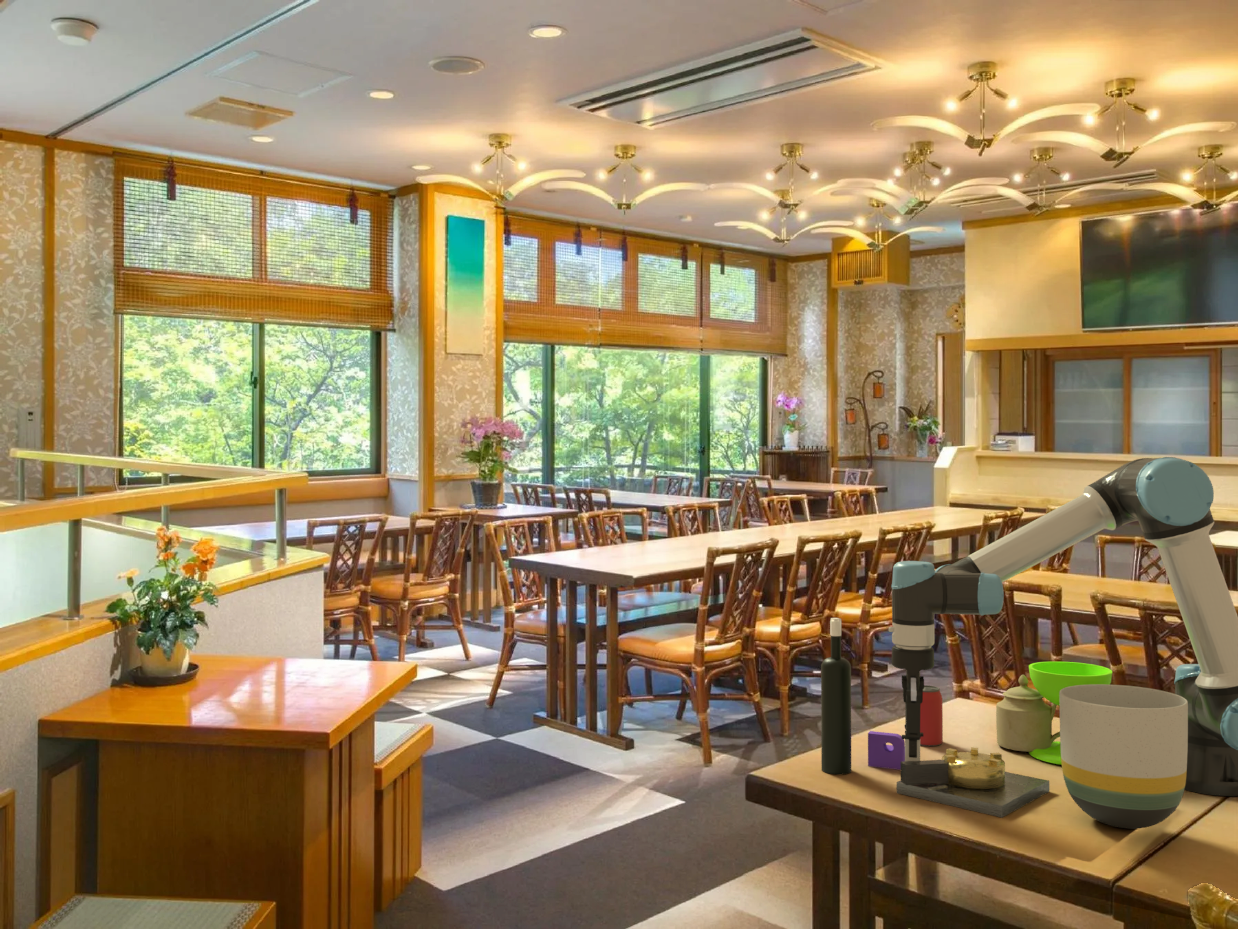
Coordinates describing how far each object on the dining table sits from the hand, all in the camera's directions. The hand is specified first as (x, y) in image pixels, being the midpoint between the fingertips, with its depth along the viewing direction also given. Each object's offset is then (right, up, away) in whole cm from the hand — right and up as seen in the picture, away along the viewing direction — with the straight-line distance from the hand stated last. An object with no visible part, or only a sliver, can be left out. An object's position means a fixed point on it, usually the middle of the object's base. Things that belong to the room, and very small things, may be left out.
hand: (912, 773), depth 199 cm
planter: (+30, -4, -18) cm, 35 cm away
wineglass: (+39, -4, +24) cm, 46 cm away
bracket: (+1, -4, +21) cm, 21 cm away
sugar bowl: (+34, -3, +30) cm, 45 cm away
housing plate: (+11, -3, -1) cm, 11 cm away
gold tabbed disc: (+7, -1, -1) cm, 7 cm away
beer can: (+12, -4, +34) cm, 36 cm away
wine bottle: (-11, -4, +14) cm, 18 cm away
